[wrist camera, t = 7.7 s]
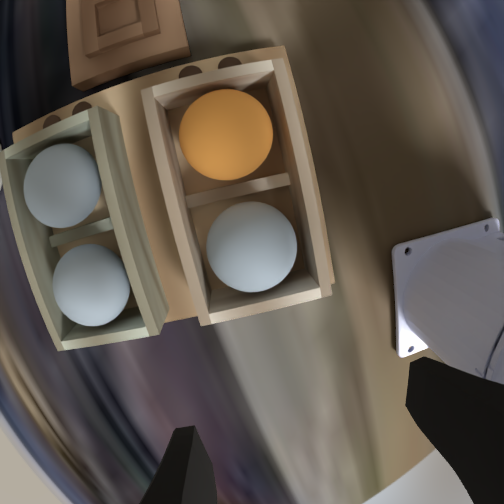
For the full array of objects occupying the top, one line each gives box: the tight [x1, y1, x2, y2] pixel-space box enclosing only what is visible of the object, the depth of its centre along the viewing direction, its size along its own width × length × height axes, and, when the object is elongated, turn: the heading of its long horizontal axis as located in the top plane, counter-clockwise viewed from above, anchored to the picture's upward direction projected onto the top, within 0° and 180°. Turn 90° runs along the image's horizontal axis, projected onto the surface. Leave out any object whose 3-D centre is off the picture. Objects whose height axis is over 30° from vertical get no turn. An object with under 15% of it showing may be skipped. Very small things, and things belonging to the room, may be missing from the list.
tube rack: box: [0, 46, 335, 351], centre depth 15 cm, size 16×13×4 cm
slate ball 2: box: [52, 244, 130, 326], centre depth 14 cm, size 4×4×4 cm
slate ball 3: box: [206, 201, 297, 292], centre depth 14 cm, size 4×4×4 cm
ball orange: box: [179, 89, 273, 180], centre depth 13 cm, size 4×4×4 cm
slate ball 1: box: [24, 144, 102, 228], centre depth 13 cm, size 4×4×4 cm
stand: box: [66, 0, 191, 92], centre depth 13 cm, size 6×6×2 cm
